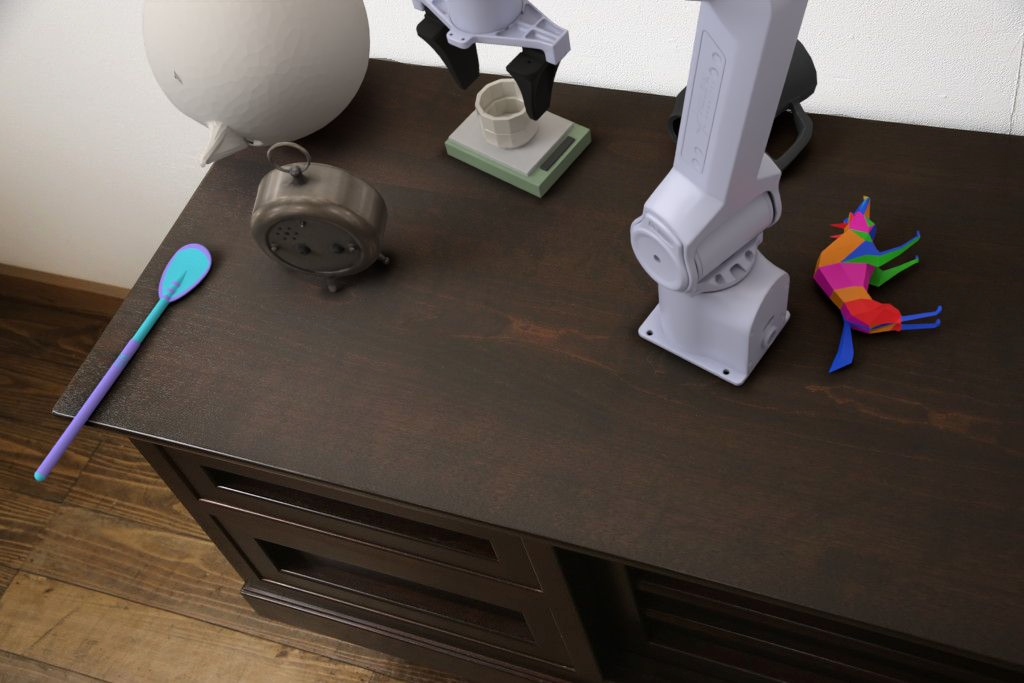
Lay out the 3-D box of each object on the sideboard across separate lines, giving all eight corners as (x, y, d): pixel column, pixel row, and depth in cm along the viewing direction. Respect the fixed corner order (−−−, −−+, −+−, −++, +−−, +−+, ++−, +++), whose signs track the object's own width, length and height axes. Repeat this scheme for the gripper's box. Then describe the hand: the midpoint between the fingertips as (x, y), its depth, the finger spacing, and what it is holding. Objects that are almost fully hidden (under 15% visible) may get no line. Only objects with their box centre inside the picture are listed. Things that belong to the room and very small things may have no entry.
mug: (724, 51, 101) (644, 128, 98) (751, -3, 92) (663, 80, 90) (821, 136, 99) (741, 217, 97) (857, 89, 91) (771, 176, 88)
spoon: (185, 245, 100) (180, 237, 99) (222, 258, 99) (218, 250, 98) (19, 474, 88) (12, 467, 87) (59, 491, 87) (53, 484, 86)
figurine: (904, 173, 86) (789, 198, 88) (952, 338, 79) (827, 361, 81) (903, 201, 89) (793, 225, 91) (949, 362, 82) (829, 384, 84)
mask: (246, -32, 113) (77, -41, 97) (361, -121, 102) (192, -148, 86) (319, 166, 113) (164, 188, 97) (442, 98, 102) (288, 111, 86)
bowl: (550, 122, 99) (545, 90, 96) (516, 159, 97) (509, 127, 94) (505, 103, 101) (499, 71, 98) (471, 139, 99) (463, 107, 96)
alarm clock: (404, 248, 96) (356, 115, 83) (394, 297, 93) (343, 167, 80) (287, 249, 98) (222, 120, 85) (274, 297, 95) (204, 171, 82)
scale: (591, 141, 100) (589, 125, 98) (540, 198, 97) (537, 182, 95) (498, 101, 105) (495, 85, 103) (447, 154, 102) (443, 138, 100)
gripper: (370, -36, 82) (410, 97, 93) (520, 22, 76) (544, 158, 87) (428, -88, 85) (461, 48, 96) (578, -35, 78) (594, 103, 89)
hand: (504, 96), depth 92 cm, fingers open, 7 cm apart
